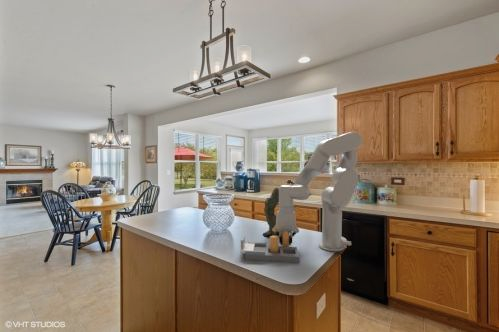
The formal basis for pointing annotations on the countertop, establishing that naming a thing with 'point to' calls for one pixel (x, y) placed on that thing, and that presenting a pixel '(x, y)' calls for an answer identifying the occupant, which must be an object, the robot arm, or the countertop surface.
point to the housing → (264, 254)
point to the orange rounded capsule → (274, 244)
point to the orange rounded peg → (285, 238)
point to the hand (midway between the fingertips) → (285, 243)
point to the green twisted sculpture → (271, 212)
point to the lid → (246, 246)
